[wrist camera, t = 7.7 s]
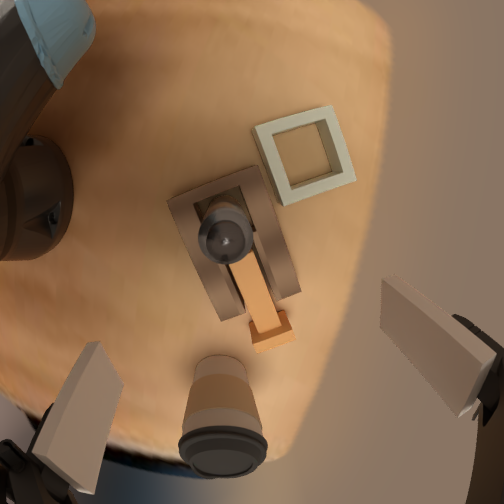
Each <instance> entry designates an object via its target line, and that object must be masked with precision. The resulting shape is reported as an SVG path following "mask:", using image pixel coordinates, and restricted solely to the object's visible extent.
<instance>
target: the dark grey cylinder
mask: <svg viewBox="0 0 504 504" xmlns="http://www.w3.org/2000/svg"><path fill="white" fill-rule="evenodd" d="M198 243H199V247H200V249H201V251H202V252H203V254H204V255H205V256H206V257H207V258H208V259H209V260H211V261H213V262H215V263H218V264H233V263H236V262H238V261H240V260H242V259H243V258H244V257H245V256H246V255H247V254H248V253H249V251H250V249H251V247H252V244H253V231H252V228H251V225H250V223H249V221H248V219H247V217H246V215H245V213H244V211H243V209H242V207H241V205H240V203H239V202H238V200H236V199H235V198H234V197H231V196H228V195H222V196H218V197H216V198H215V199H213V200H212V201H211V203H210V204H209V206H208V209H207V211H206V214H205V216H204V218H203V221H202V223H201V226H200V228H199V232H198Z"/></svg>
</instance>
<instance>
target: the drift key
mask: <svg viewBox="0 0 504 504" xmlns="http://www.w3.org/2000/svg"><path fill="white" fill-rule="evenodd" d="M229 266H230V268H231V270H232V273H233V275H234V277H235V280H236V282H237V284H238V287H239V289H240V291H241V294H242V296H243V298H244V301H245V303H246V305H247V307H248V310H249V312H250V314H251V317H252V319H253V322H250V323H249V326H250V331H251V337H252V343H253V346H254V348H255V350H256V352H257V354H258V353H261V352H264V351H266V350H269V349H272V348H275V347H277V346H280V345H283V344H285V343H288V342H291V341H293V340H296V338H295V335H294V333H293V330H292V327H291V325H290V323H289V320H288V318H287V316H286V313H285V311H284V310H282V311H280V312H276V309H275V306H274V304H273V301H272V299H271V296H270V293H269V291H268V288H267V286H266V283H265V280H264V278H263V275H262V273H261V270H260V267H259V265H258V262H257V260H256V257H255V254H254V252H253V249H252V247H251V249H250V251H249V253H248V254H247V255H246V256H245V257H244V258H243V259H242V260H240V261H238V262H236V263H233V264H229Z"/></svg>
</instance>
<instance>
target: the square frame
mask: <svg viewBox="0 0 504 504" xmlns="http://www.w3.org/2000/svg"><path fill="white" fill-rule="evenodd" d="M314 123H316V125H317V128H318V131H319V134H320V137H321V139H322V142H323V145H324V148H325V151H326V154H327V157H328V160H329V163H330V166H331V169H332V172H330V173H327V174H324V175H321V176H318V177H315V178H312V179H310V180H307V181H304V182H301V183H298V184H295V185H292V186H290V184H289V181H288V178H287V175H286V172H285V170H284V167H283V164H282V161H281V159H280V156H279V153H278V150H277V148H276V145H275V142H274V140H273V137H272V136H274V135H277V134H280V133H283V132H286V131H290V130H293V129H296V128H300V127H303V126H307V125H310V124H314ZM252 134H253V136H254V139H255V141H256V144H257V147H258V149H259V152H260V155H261V157H262V160H263V163H264V165H265V168H266V171H267V174H268V176H269V179H270V182H271V185H272V187H273V190H274V193H275V196H276V199H277V201H278V203H279V204H281V205H282V206H287V205H289V204H292V203H295V202H298V201H300V200H303V199H306V198H309V197H311V196H314V195H317V194H320V193H323V192H325V191H328V190H331V189H334V188H337V187H340V186H343V185H346V184H348V183H351V182H354V181H357V179H356V175H355V172H354V169H353V165H352V162H351V159H350V155H349V152H348V149H347V146H346V143H345V140H344V137H343V134H342V131H341V128H340V126H339V123H338V120H337V117H336V115H335V112H334V109H333V107H332V105H328V106H324V107H320V108H316V109H312V110H308V111H304V112H301V113H297V114H293V115H290V116H286V117H283V118H280V119H276V120H273V121H270V122H267V123H263V124H260V125H257V126H255V127H254V128H253V129H252Z"/></svg>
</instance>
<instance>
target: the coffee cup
mask: <svg viewBox="0 0 504 504" xmlns="http://www.w3.org/2000/svg"><path fill="white" fill-rule="evenodd" d="M182 430H183V433H182V437H181V439H180V440H179V443H178V447H179V454H180V456H181V458H182V459H183V460H184V461H185V462H186V463H187V464H189V465H190V466H191V468H192V470H193V471H194V473H195V474H196V475H198V476H200V477H203V478H206V479H215V478H236V477H241V476H244V475H247V474H249V473H251V472H253V471H254V470H255V469H256V468H257V466H259V465H260V464H261V463H262V462H263V461H264V460H265V458H266V451H267V448H268V444H267V441H266V440H265V438H264V437H263V434H262V425H261V421H260V418H259V414H258V411H257V407H256V404H255V400H254V397H253V393H252V390H251V388H250V386H249V382H248V378H247V374H246V370H245V368H244V366H243V365H242V364H241V363H240V362H239V361H238V360H236V359H234V358H232V357H229V356H225V355H214V356H210V357H207V358H205V359H203V360H202V361H200V362H199V364H198V365H197V367H196V370H195V375H194V379H193V384H192V386H191V388H190V392H189V397H188V401H187V406H186V411H185V415H184V420H183V425H182Z"/></svg>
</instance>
